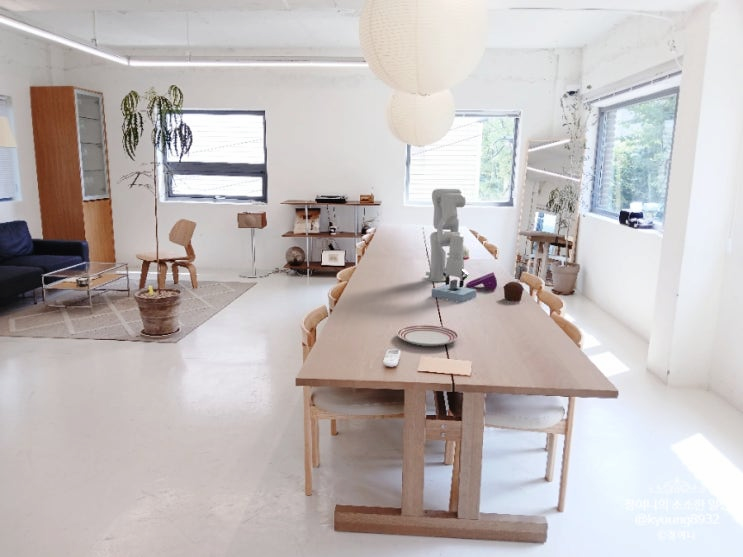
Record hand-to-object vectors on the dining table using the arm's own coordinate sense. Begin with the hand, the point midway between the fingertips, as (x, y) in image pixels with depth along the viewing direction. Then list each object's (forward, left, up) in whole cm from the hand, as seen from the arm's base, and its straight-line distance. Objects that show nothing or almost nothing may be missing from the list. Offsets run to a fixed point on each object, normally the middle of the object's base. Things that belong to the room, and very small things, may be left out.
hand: (454, 285), depth 317 cm
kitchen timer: (-57, +106, -7) cm, 121 cm away
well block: (0, 0, -7) cm, 7 cm away
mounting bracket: (+2, +30, -7) cm, 31 cm away
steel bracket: (0, -1, -7) cm, 7 cm away
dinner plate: (+29, -72, -7) cm, 78 cm away
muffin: (+28, +18, -7) cm, 34 cm away
